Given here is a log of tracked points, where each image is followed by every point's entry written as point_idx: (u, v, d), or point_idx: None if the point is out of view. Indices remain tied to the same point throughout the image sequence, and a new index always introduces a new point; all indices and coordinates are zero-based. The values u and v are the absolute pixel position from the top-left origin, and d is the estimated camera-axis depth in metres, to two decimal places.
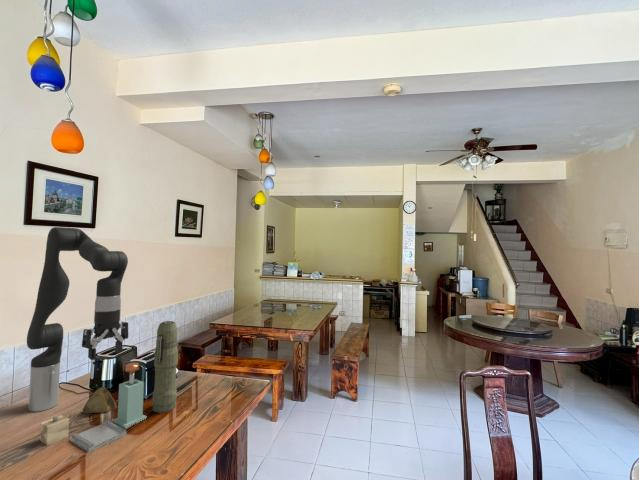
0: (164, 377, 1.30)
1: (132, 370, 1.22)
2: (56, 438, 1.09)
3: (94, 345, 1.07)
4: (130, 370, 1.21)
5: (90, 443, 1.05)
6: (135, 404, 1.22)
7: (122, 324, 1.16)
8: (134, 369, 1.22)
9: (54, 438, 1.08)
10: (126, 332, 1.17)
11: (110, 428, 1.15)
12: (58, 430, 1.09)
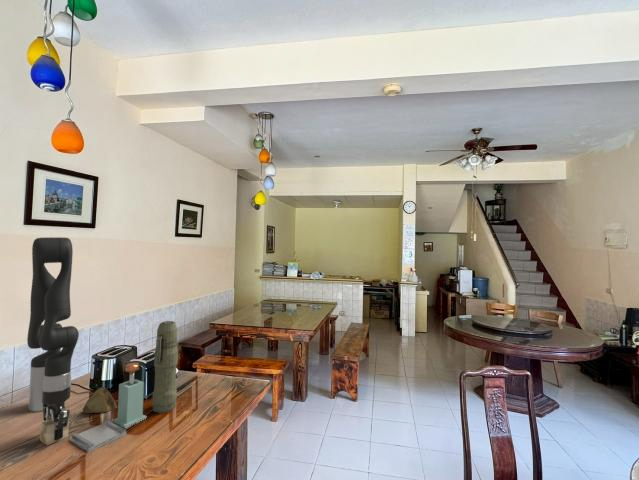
0: (164, 377, 1.30)
1: (132, 370, 1.22)
2: None
3: None
4: (130, 370, 1.21)
5: (90, 443, 1.05)
6: (135, 404, 1.22)
7: None
8: (134, 369, 1.22)
9: None
10: None
11: (110, 428, 1.15)
12: None
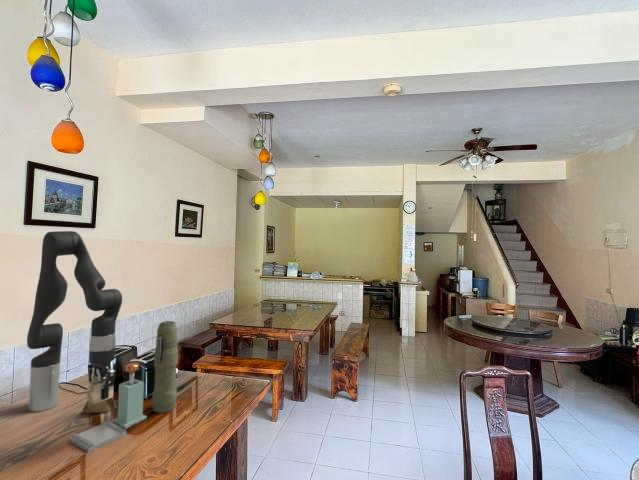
0: (164, 377, 1.30)
1: (132, 370, 1.22)
2: None
3: None
4: (130, 370, 1.21)
5: (90, 443, 1.05)
6: (135, 404, 1.22)
7: None
8: (134, 369, 1.22)
9: None
10: None
11: (110, 428, 1.15)
12: None
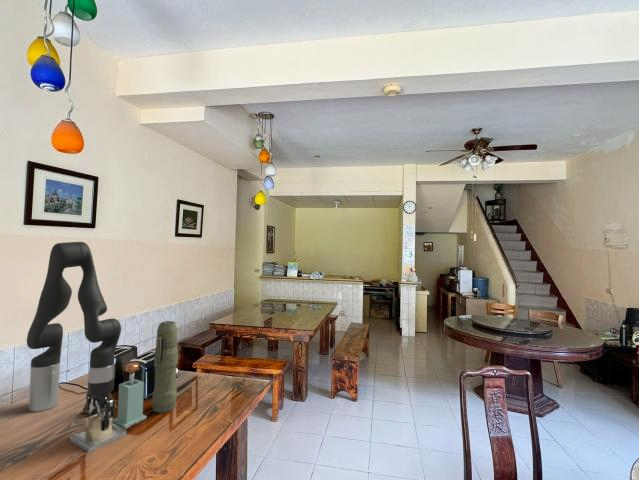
0: (164, 377, 1.30)
1: (132, 370, 1.22)
2: (100, 433, 1.10)
3: None
4: (130, 370, 1.21)
5: (90, 443, 1.05)
6: (135, 404, 1.22)
7: None
8: (134, 369, 1.22)
9: (99, 433, 1.09)
10: None
11: None
12: None
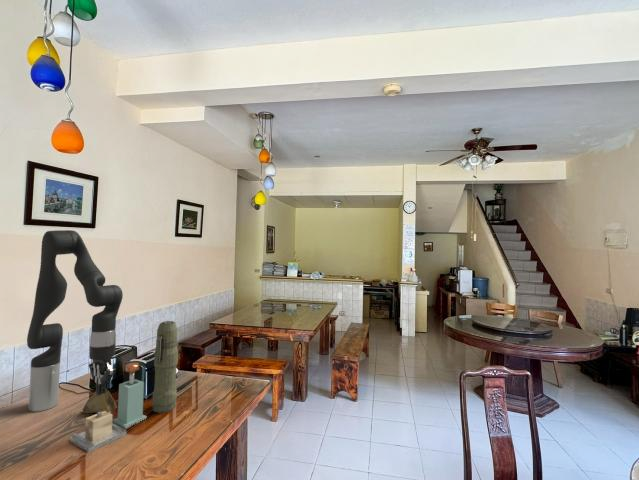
0: (164, 377, 1.30)
1: (132, 370, 1.22)
2: (100, 433, 1.10)
3: None
4: (130, 370, 1.21)
5: (90, 443, 1.05)
6: (135, 404, 1.22)
7: None
8: (134, 369, 1.22)
9: (99, 433, 1.09)
10: None
11: None
12: (103, 425, 1.10)
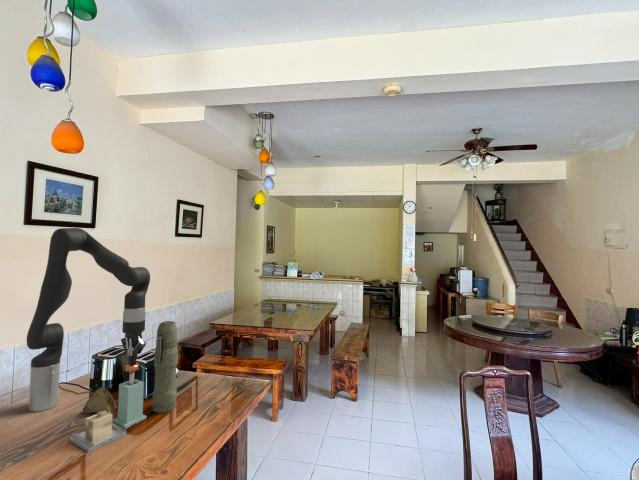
0: (164, 377, 1.30)
1: (132, 370, 1.22)
2: (100, 433, 1.10)
3: None
4: (130, 370, 1.21)
5: (90, 443, 1.05)
6: (135, 404, 1.22)
7: None
8: (134, 369, 1.22)
9: (99, 433, 1.09)
10: None
11: None
12: (103, 425, 1.10)
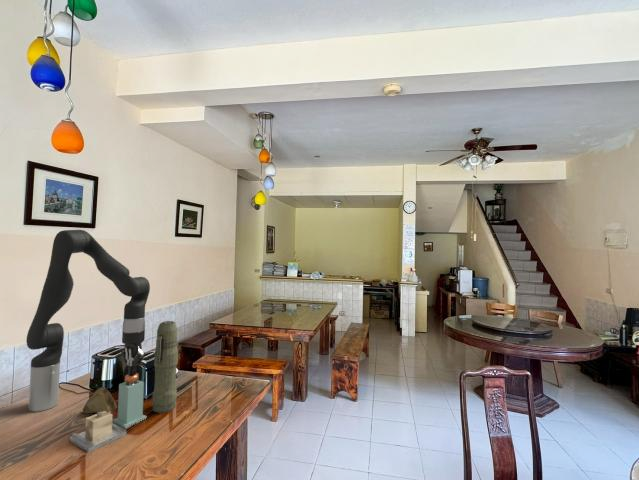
0: (164, 377, 1.30)
1: (132, 381, 1.22)
2: (100, 433, 1.10)
3: None
4: (130, 381, 1.21)
5: (90, 443, 1.05)
6: (135, 404, 1.22)
7: None
8: (134, 380, 1.22)
9: (99, 433, 1.09)
10: None
11: None
12: (103, 425, 1.10)
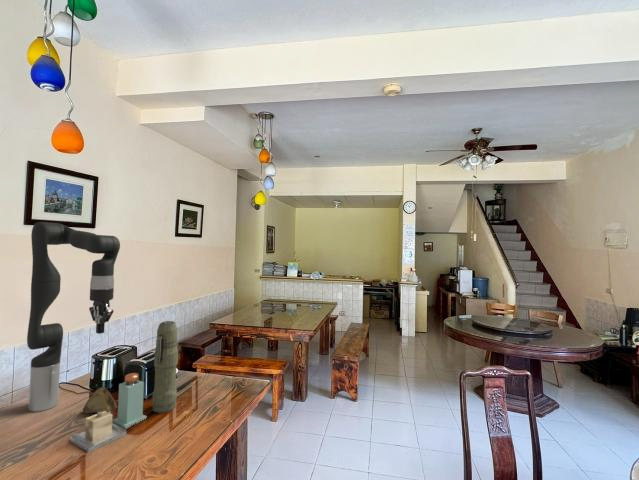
0: (164, 377, 1.30)
1: (132, 381, 1.22)
2: (100, 433, 1.10)
3: None
4: (130, 381, 1.21)
5: (90, 443, 1.05)
6: (135, 404, 1.22)
7: None
8: (134, 380, 1.22)
9: (99, 433, 1.09)
10: None
11: None
12: (103, 425, 1.10)
